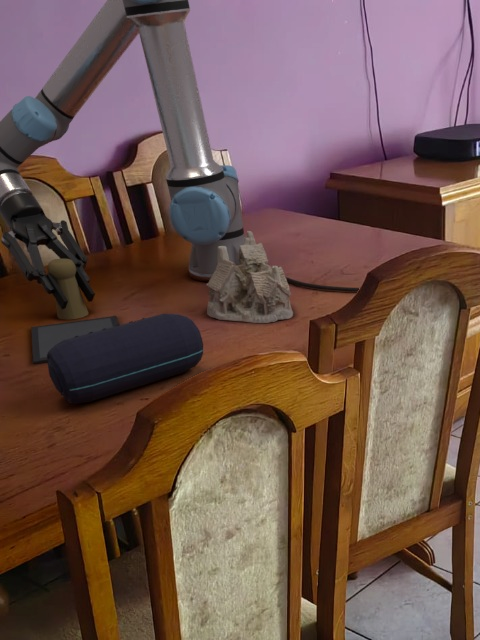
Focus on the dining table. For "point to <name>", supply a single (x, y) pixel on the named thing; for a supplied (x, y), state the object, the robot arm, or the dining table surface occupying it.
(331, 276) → the dining table surface
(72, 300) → the cork
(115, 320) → the tablet computer
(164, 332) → the portable speaker
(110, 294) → the dining table surface
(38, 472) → the dining table surface
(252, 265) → the ceramic cottage
